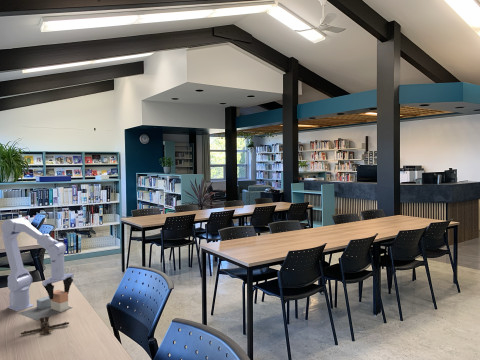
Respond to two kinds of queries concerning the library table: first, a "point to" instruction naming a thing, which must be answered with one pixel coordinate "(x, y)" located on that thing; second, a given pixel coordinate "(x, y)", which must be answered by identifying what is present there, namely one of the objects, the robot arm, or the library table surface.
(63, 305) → the cream brick
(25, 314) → the charcoal mat
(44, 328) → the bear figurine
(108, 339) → the library table surface
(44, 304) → the slate brick
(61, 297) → the terracotta brick
